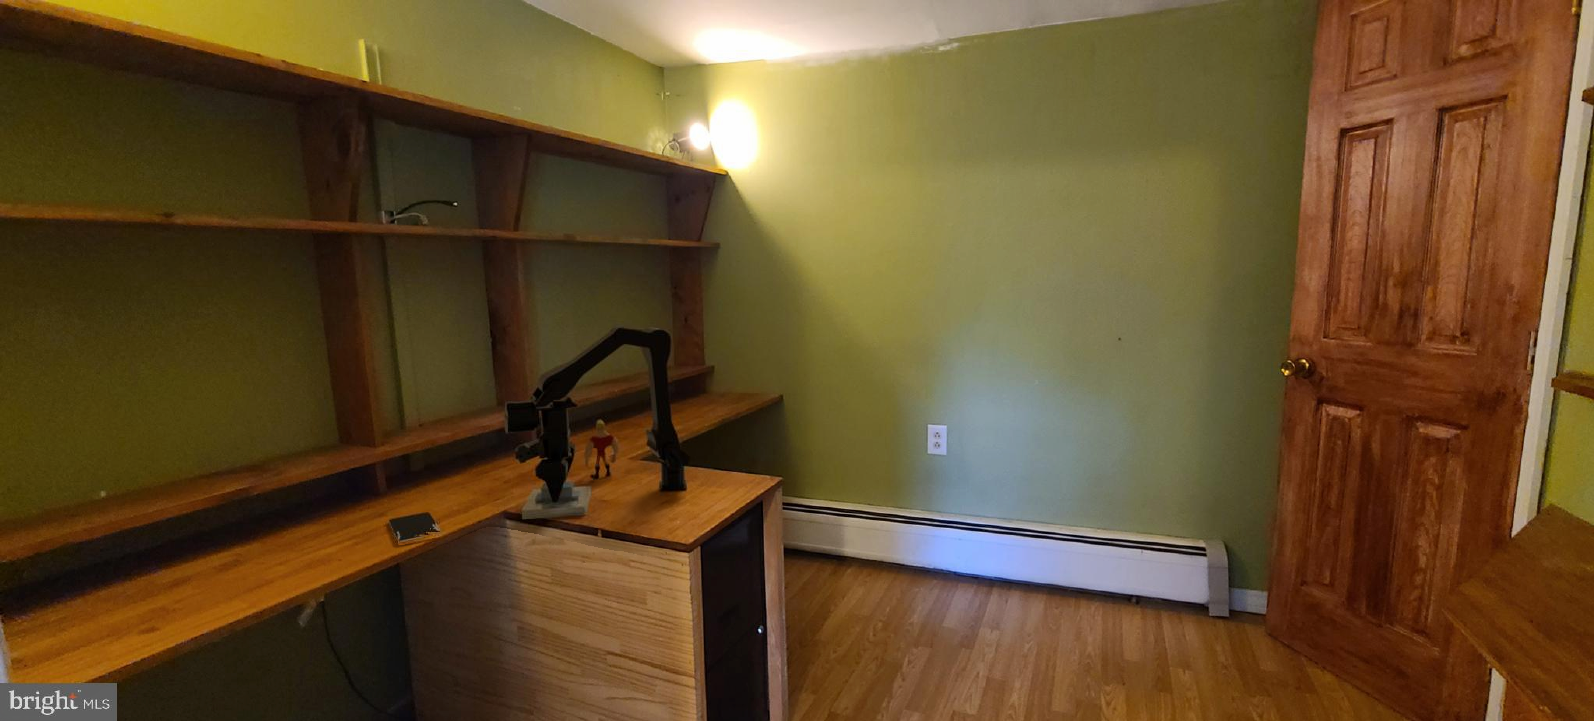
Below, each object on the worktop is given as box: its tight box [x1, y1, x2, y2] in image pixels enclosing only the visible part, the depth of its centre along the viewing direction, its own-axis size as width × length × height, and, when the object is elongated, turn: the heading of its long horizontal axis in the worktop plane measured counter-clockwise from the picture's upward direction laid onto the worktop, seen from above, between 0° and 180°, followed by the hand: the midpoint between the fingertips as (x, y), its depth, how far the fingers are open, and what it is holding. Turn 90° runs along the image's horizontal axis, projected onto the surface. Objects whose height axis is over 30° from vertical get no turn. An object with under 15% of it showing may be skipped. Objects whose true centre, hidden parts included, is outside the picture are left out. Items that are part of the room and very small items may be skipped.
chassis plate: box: [521, 485, 592, 520], centre depth 153 cm, size 14×13×2 cm
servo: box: [535, 481, 580, 503], centre depth 154 cm, size 8×9×5 cm
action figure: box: [583, 419, 620, 479], centre depth 174 cm, size 10×4×15 cm, turn 129°
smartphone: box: [388, 512, 442, 542], centre depth 138 cm, size 8×1×15 cm
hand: (558, 494), depth 152 cm, fingers open, 9 cm apart
